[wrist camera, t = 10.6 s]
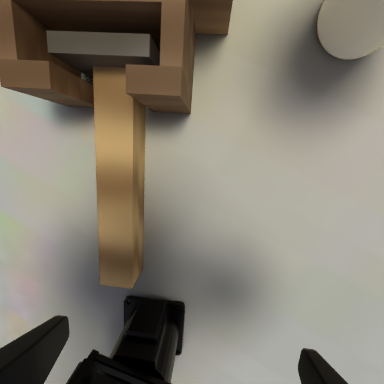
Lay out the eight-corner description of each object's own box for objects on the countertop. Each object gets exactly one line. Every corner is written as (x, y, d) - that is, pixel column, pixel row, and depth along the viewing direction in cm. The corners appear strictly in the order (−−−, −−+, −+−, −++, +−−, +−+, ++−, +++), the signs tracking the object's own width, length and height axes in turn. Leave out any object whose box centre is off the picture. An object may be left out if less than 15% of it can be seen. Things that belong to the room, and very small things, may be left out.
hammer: (159, 271, 21) (143, 308, 16) (99, 264, 21) (66, 298, 17) (167, 67, 17) (149, 33, 12) (92, 63, 17) (46, 30, 12)
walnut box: (219, 115, 17) (229, 80, 8) (42, 104, 18) (-113, 64, 9) (230, 4, 15) (257, -189, 7) (33, 0, 16) (-168, -168, 8)
